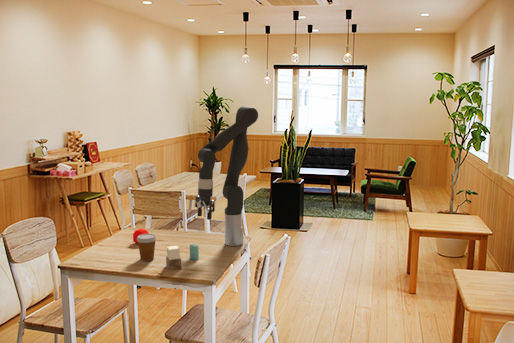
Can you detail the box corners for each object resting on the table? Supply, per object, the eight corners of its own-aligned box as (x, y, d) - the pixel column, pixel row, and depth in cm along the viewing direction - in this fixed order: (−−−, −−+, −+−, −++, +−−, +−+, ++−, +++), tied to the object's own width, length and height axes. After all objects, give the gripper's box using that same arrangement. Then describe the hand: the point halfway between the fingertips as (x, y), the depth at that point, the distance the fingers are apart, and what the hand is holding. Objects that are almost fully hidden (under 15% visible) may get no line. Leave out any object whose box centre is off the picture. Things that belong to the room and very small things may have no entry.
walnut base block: (178, 264, 246) (178, 254, 245) (181, 268, 240) (181, 258, 239) (166, 266, 244) (166, 256, 243) (168, 270, 238) (168, 260, 237)
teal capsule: (197, 257, 256) (197, 243, 255) (199, 259, 252) (199, 246, 251) (188, 258, 255) (188, 244, 253) (191, 260, 251) (190, 247, 249)
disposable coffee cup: (147, 263, 247) (146, 240, 244) (133, 260, 252) (132, 237, 249) (161, 258, 254) (160, 235, 252) (147, 254, 259) (146, 232, 257)
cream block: (177, 255, 244) (177, 245, 243) (179, 258, 240) (179, 248, 239) (167, 256, 242) (167, 246, 242) (169, 259, 238) (169, 249, 237)
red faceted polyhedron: (151, 242, 279) (151, 229, 278) (141, 246, 273) (140, 232, 271) (141, 240, 284) (140, 227, 282) (130, 244, 277) (130, 230, 276)
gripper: (219, 188, 259) (218, 219, 262) (203, 184, 270) (202, 214, 272) (207, 190, 255) (206, 221, 257) (191, 185, 265) (190, 215, 267)
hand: (204, 217), depth 265 cm, fingers open, 8 cm apart
